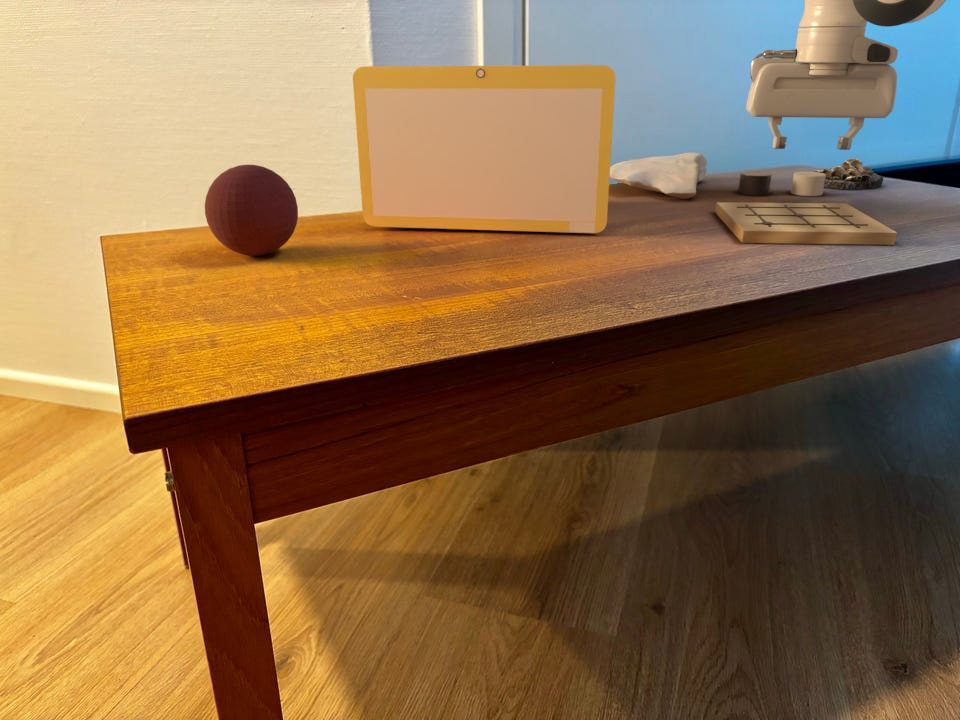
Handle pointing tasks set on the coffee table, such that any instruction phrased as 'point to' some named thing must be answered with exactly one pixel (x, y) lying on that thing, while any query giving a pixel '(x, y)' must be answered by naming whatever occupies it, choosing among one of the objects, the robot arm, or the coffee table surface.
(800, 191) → the white stone
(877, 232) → the game board
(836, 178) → the grey lumpy piece
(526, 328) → the coffee table surface
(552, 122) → the tablet
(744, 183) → the black stone
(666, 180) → the decorative stone
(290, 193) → the decorative ball
